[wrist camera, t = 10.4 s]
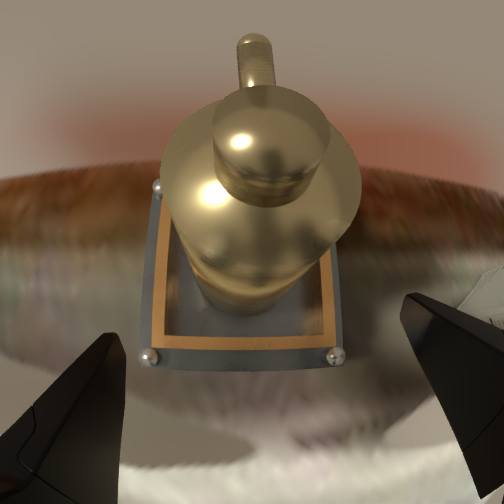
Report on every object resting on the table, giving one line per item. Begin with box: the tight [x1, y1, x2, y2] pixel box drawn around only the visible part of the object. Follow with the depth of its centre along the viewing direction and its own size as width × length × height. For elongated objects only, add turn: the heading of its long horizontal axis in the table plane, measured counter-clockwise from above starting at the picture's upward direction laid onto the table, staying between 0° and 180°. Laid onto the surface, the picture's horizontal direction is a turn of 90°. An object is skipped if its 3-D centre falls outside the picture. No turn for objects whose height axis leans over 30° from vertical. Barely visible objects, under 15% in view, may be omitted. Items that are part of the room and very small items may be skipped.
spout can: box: [160, 33, 362, 316], centre depth 11 cm, size 6×5×12 cm
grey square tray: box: [139, 178, 346, 371], centre depth 17 cm, size 11×11×5 cm
